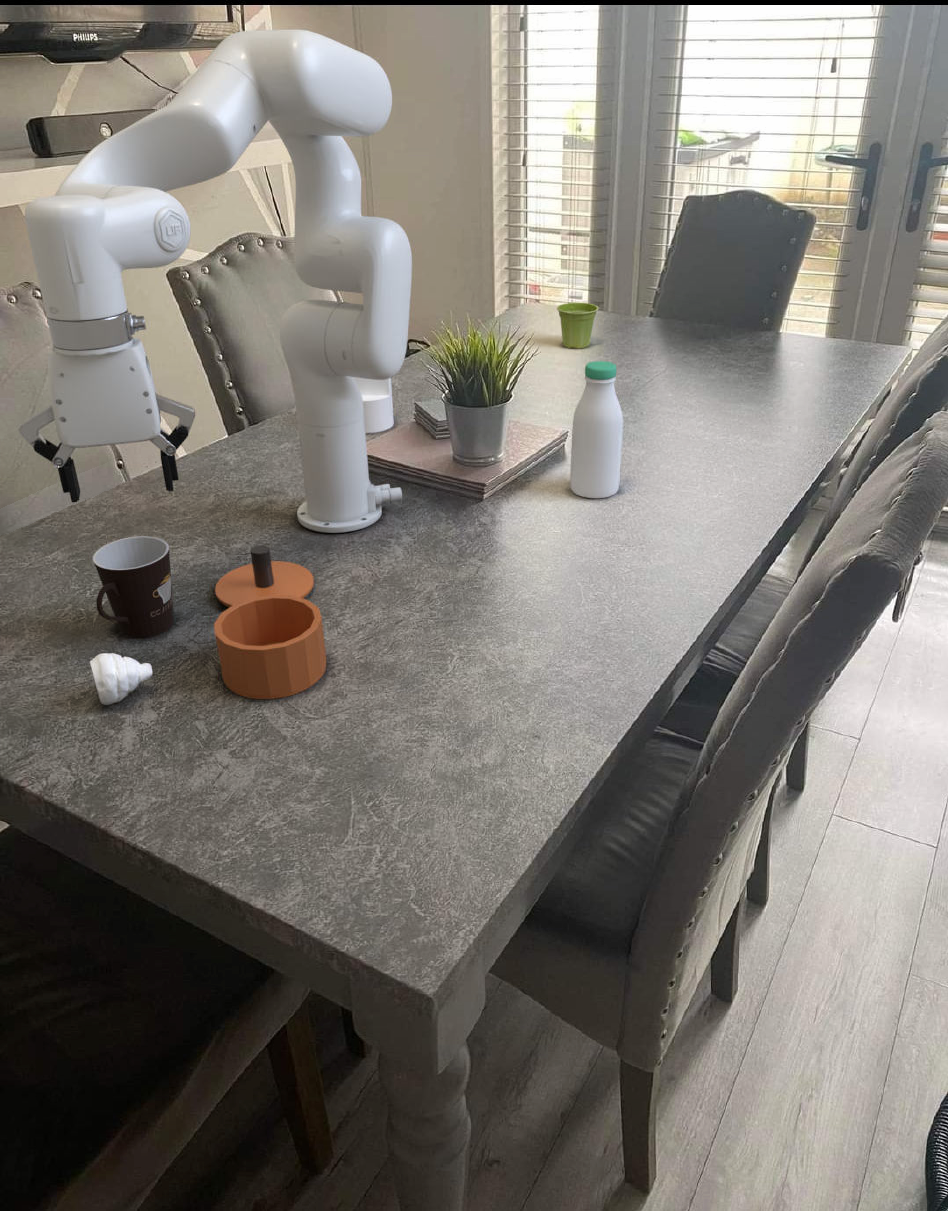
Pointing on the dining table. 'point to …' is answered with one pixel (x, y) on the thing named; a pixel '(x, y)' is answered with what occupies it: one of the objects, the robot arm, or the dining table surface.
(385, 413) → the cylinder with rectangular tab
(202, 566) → the dining table surface
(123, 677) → the white whipped cream swirl
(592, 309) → the plant pot
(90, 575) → the dining table surface
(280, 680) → the pot
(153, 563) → the coffee mug
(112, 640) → the dining table surface
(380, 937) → the dining table surface
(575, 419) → the milk bottle
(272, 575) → the pot lid
